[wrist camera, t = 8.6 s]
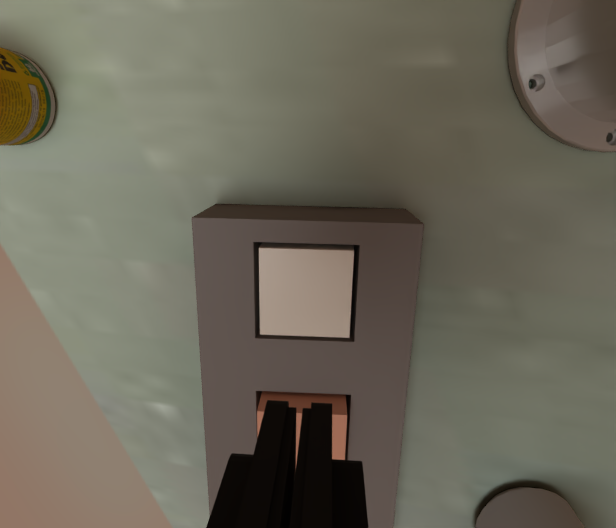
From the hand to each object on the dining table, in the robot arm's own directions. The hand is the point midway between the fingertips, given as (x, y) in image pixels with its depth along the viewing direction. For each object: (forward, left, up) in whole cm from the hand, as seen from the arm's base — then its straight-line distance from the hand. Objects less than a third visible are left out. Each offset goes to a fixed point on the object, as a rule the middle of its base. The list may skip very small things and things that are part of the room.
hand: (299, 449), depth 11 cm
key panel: (+9, 0, -17) cm, 20 cm away
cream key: (0, 0, -16) cm, 16 cm away
